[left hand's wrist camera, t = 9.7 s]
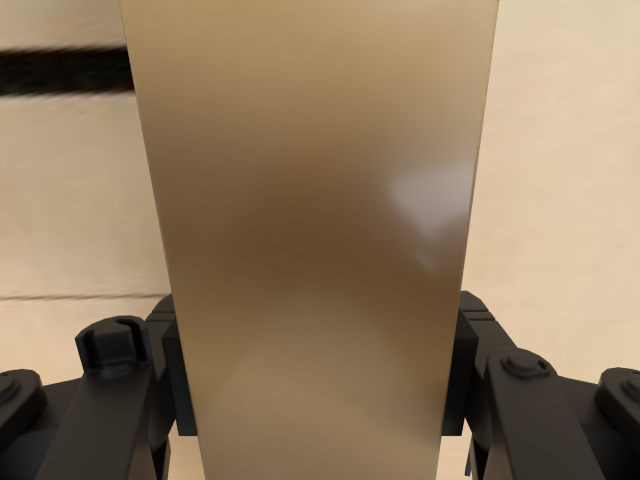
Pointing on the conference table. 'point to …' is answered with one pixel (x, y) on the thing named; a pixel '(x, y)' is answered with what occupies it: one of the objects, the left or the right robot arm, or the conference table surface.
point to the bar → (314, 220)
